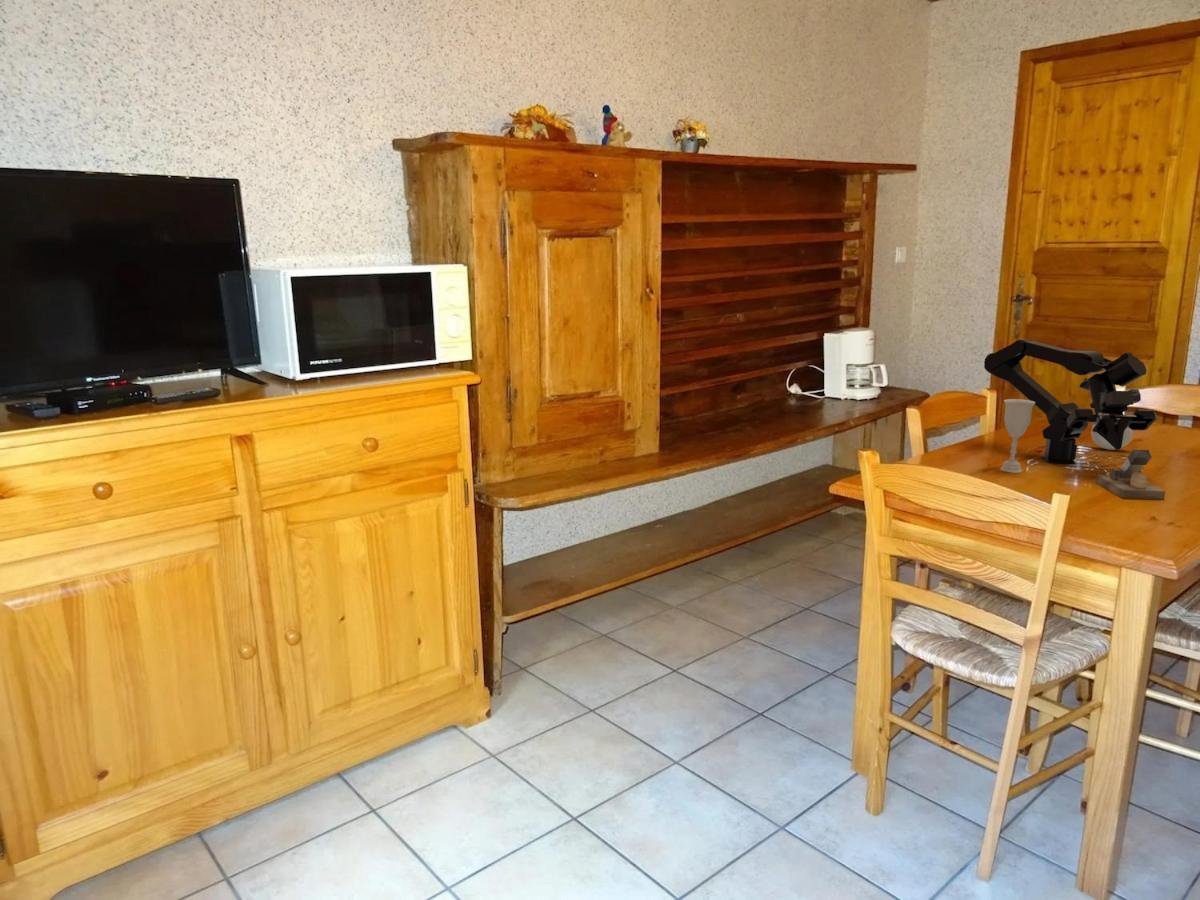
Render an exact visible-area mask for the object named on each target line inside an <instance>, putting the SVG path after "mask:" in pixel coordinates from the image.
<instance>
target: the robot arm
mask: <svg viewBox="0 0 1200 900" xmlns="http://www.w3.org/2000/svg"><path fill="white" fill-rule="evenodd" d="M1026 357H1032V358H1035V359H1039V360H1042V361H1046V362H1050V363H1053V364H1057V365H1060V366H1062V367H1063V368H1065V369H1066V370H1067V371H1069V372H1071V373H1073V374H1075V375H1077V376H1085V375H1091V376H1090V377H1089V378H1087V377H1084V379H1083V380H1082V382H1080V385H1079V388H1081V389H1083V390H1087V391H1089V393H1090V399H1091V401H1092V402H1090V404H1089V405H1090V408H1080V407H1079V406H1078V405H1077V404H1076V403H1075V402H1068V403H1067V402H1066V403H1062V402H1061V401H1059V399H1057V398H1056V397H1055V396H1054V395H1052V394H1051V393H1050V392H1049V391H1048V390H1046V388H1044V387H1043V386H1042V385H1041V384H1040V383H1039V382H1038V381H1036V380H1035V379H1034V378H1033V377H1031V376H1030V375H1029V374H1028V373H1027V372H1025V371H1024V369H1023V367H1022V364H1021V361H1023V360H1024V359H1025V358H1026ZM983 364H984V366H983V368H984V370H985V371H986V372H987V373H989V374H991V375H992V376H993V377H996V378H997V379H1001V380H1003V381H1006V382H1008V383H1009V384H1011V386H1013V387H1014V388H1015V389H1016V390H1017V391H1018V392H1019V393H1021V394H1022V395H1023V396H1024V397H1025V398H1026V399H1027V400H1030V401H1034V402H1035V404H1034V406H1035V407H1036V408H1038V410H1040V411H1041V412H1042V413H1043V414H1044V415H1045V417H1046V420H1047V423H1048V424H1049V425H1048V426H1047V427H1045V428H1044V429H1043V430H1042V431H1041V432H1042V437H1043V439H1046V440H1045V448H1044V449H1045V450H1044V454H1042V455H1041V457H1042V458H1043V459H1044V458H1045V459H1044V460H1046V461H1047V462H1048V463H1052V464H1053V463H1054V464H1076V457H1077V451H1078V445H1077V444H1076V442H1077V439H1080V437H1081V436H1082V433H1083V432H1085V431H1086V430H1087V428H1088V427H1089V426H1088V425H1089V423H1093V425H1094V426H1095V427H1094V428H1093V429H1092V428H1091V430H1092V431H1093V432H1097V433H1098V434H1099V435H1101V436H1102V437H1103V438H1104V439H1106V440H1107V441H1108V442H1109V443H1110V444H1111V445H1112V446H1113V447H1114V448H1115V449H1116V450H1115V451H1117V450H1118V451H1120V450H1121V449H1122V448H1121V446H1122V441H1123V435H1124V431H1125V429H1126V428H1127V427H1129V428H1130V429H1131V430H1133V431H1147V430H1149V428H1150V427H1151V426H1152V424H1153V423H1154V422H1156V420H1157V419H1158V417H1157V415H1156V412H1155V411H1154V410H1153V409H1135V411H1134V412H1133V413H1132V414H1124V412H1125V413H1126V412H1127V411H1128V410H1129V408H1128V407H1129V406H1132V405H1134V404H1137V403H1139V402H1141V401H1142V397H1141V393H1140V389H1139V388H1131V389H1128V390H1117V388H1116V386H1119V387H1123V388H1124V387H1126V386H1127V385H1130V384H1131V383H1133V382H1135V381H1136V380H1138V379H1140V378H1142V377H1144V376H1146V375H1147V372H1148V371H1147V367H1146V365H1145V363H1144V362H1143V361H1141V360H1140V359H1139V358H1138V357H1136V356H1134V355H1133V353H1132V352H1129V351H1127V352H1125V353H1123V354H1121V355H1120V356H1119V357H1118V358H1116V359H1115V360H1111V359H1108V358H1106V357H1104V355H1103V353H1102V352H1099V351H1097V350H1096V351H1095V350H1077V349H1076V350H1073V349H1068V348H1063V347H1059V346H1055V345H1051V344H1047V343H1043V342H1038V341H1035V340H1033V339H1030V338H1022V339H1021V338H1020V339H1016V340H1015V341H1014V342H1013V343H1011V344H1009V345H1007V346H1005V347H1003V348H1001V349H999V350H997V351H996V352H992V353H988V354H987V355H986V357H985V358H984V362H983ZM1100 372H1102V373H1100ZM1092 374H1093V375H1092ZM1093 410H1094V412H1093Z"/></svg>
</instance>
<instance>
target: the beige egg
mask: <svg viewBox="0 0 1200 900" xmlns="http://www.w3.org/2000/svg"><path fill="white" fill-rule="evenodd" d="M1147 482H1148V476H1147V474H1145V472H1142V471H1141V472H1136V473H1134V474H1133V475H1132V476H1131V481H1130V487H1132V488H1137V489H1145V488H1146V485H1147Z"/></svg>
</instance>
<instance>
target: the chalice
mask: <svg viewBox="0 0 1200 900" xmlns="http://www.w3.org/2000/svg"><path fill="white" fill-rule="evenodd" d="M1003 401H1004V404H1005V407H1004V408H1005V409H1004V418H1003V420H1004V424H1005V425H1004V426H1005V429H1006V431H1007V434H1008V436H1009V437H1012V442H1011V443H1010V446H1011V450H1009V453H1010V457H1009V459H1007V460H1005V461H1004V462H1003V464H1002V466H1001V467H1000V468H999V469H1000V471H1003V472H1006V473H1016V474H1017V473H1018V474H1019V473H1022V472H1023V470H1022V468H1021V467H1022V466H1021V464H1020V462H1019V461H1017V459H1016V455H1017V454H1018V451H1017V447H1018V446H1019V444H1018V439H1019V438H1021V437H1022V436H1023V434H1024V433H1025V432H1026V431H1027V430H1028V428H1029V425H1030V423H1031V421H1032V420H1031V419H1032V414H1033V413H1032V412H1033V407H1034V406H1035V405H1034V404H1035V402H1034V401H1030V400H1029V399H1023V398H1022V399H1019V398H1018V399H1017V398H1008V399H1004V400H1003Z"/></svg>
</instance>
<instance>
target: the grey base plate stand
mask: <svg viewBox="0 0 1200 900" xmlns="http://www.w3.org/2000/svg"><path fill="white" fill-rule="evenodd" d="M1119 472H1120V469H1118V468H1111V471H1110V474H1096V479H1095V484H1098V485H1099V486H1101V487H1103V488H1105V490H1108V491H1110V493H1112V494H1115V495H1116V496H1118V497H1119V498H1121V499H1127V500H1131V499H1133V500H1163V501H1164V500H1165V495H1166V490H1164V489H1162V488H1160V487H1159V486H1158V485H1157V486H1156V485H1155V484H1153V483H1151V482H1149V481H1147V485H1146V488H1145V489H1137V488H1132V487H1130V481H1131V479H1120V478H1119ZM1139 472H1142V470H1140V471H1139Z"/></svg>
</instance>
